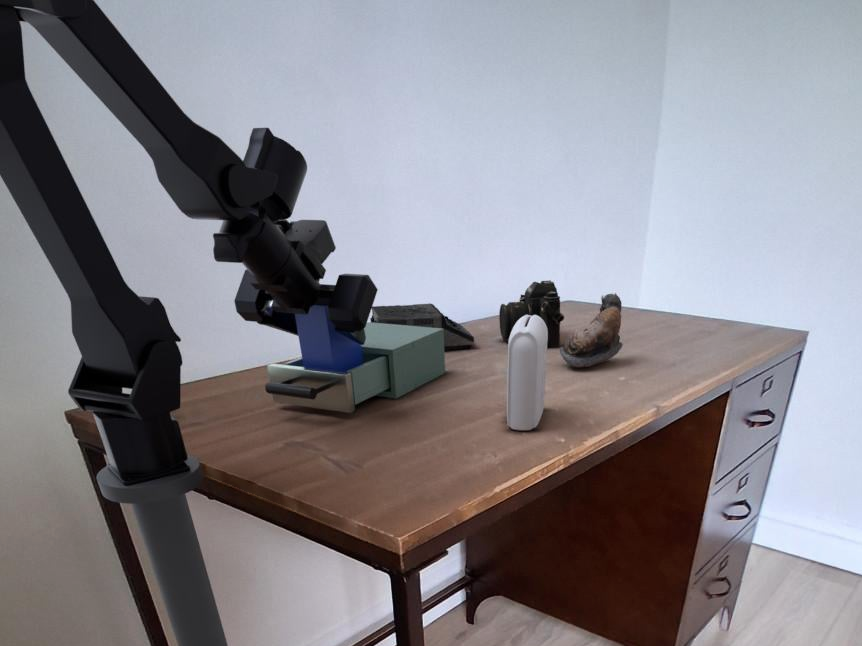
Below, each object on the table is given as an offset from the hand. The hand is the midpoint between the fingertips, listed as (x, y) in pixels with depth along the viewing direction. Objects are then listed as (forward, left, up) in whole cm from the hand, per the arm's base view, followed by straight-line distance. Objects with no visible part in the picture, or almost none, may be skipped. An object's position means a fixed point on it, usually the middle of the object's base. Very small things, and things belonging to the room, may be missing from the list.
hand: (337, 339), depth 91 cm
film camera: (+47, +11, -8) cm, 49 cm away
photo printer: (+14, -24, -8) cm, 28 cm away
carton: (-1, 0, -6) cm, 6 cm away
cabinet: (+10, +5, -8) cm, 14 cm away
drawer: (-2, -1, -7) cm, 8 cm away
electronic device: (+29, +21, -8) cm, 37 cm away
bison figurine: (+42, -9, -8) cm, 43 cm away
